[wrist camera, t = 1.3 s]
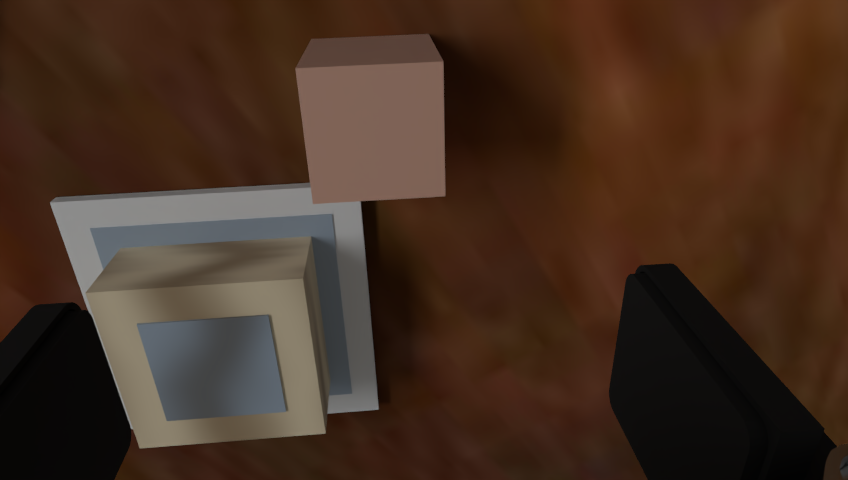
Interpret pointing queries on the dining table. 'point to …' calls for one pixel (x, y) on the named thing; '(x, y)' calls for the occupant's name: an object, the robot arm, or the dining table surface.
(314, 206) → the board
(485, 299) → the dining table surface
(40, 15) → the dining table surface
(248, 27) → the dining table surface
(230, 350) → the plinth
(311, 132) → the block
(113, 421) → the robot arm
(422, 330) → the dining table surface
